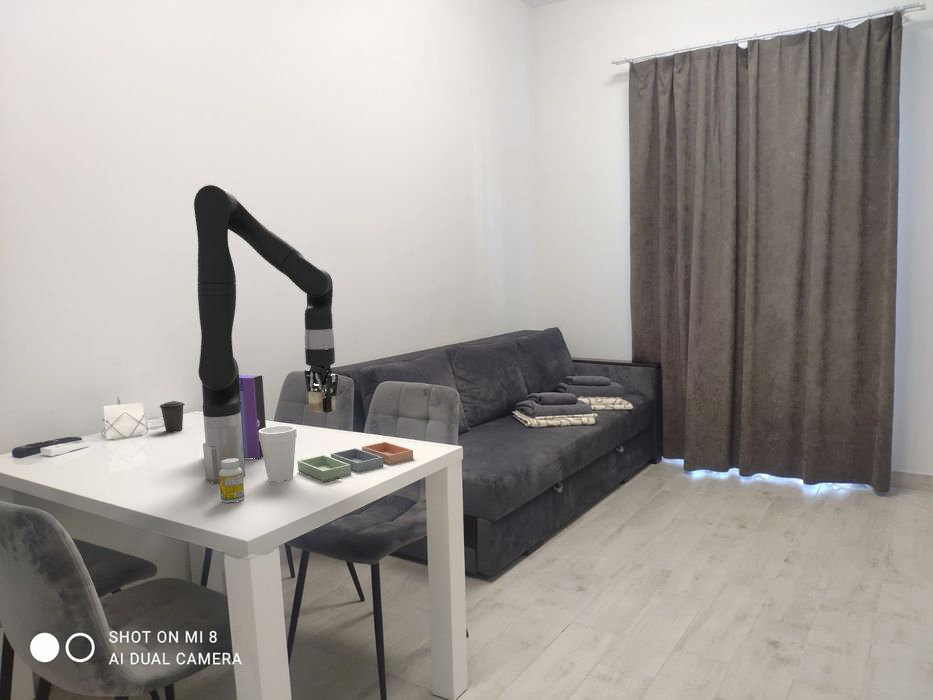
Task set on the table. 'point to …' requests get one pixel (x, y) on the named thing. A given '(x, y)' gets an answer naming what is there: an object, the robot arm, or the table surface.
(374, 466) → the slate tray
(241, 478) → the supplement bottle
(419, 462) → the table surface
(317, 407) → the letter cube
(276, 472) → the foam cup
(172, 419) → the coffee cup
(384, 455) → the terracotta tray
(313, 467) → the sage tray
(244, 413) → the cereal box
